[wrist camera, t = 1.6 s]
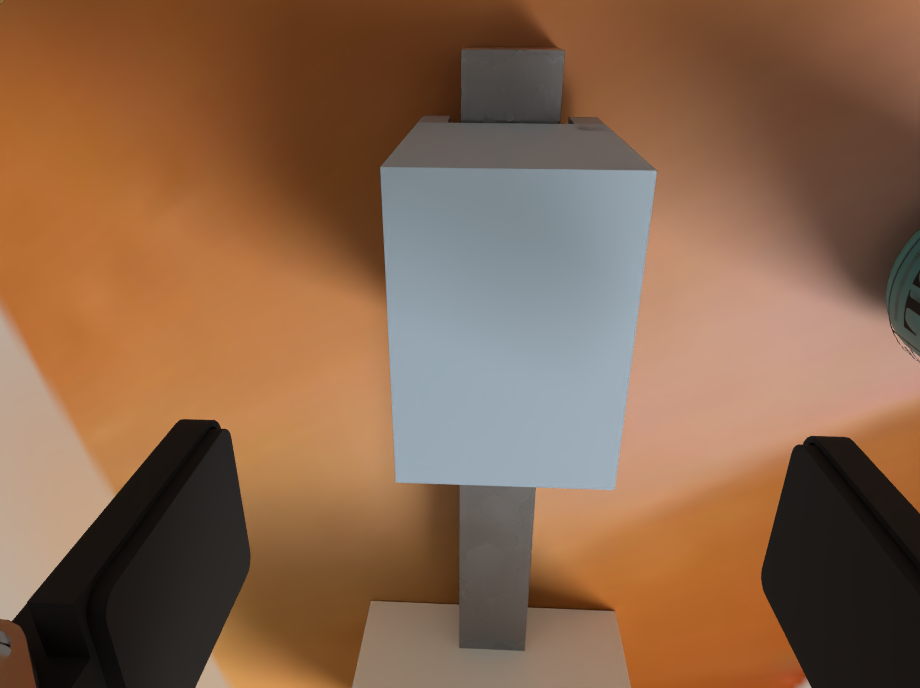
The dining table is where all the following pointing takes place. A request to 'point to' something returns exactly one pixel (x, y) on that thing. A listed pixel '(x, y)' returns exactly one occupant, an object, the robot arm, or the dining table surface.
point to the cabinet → (488, 651)
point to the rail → (501, 507)
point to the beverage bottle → (906, 295)
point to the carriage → (512, 300)
